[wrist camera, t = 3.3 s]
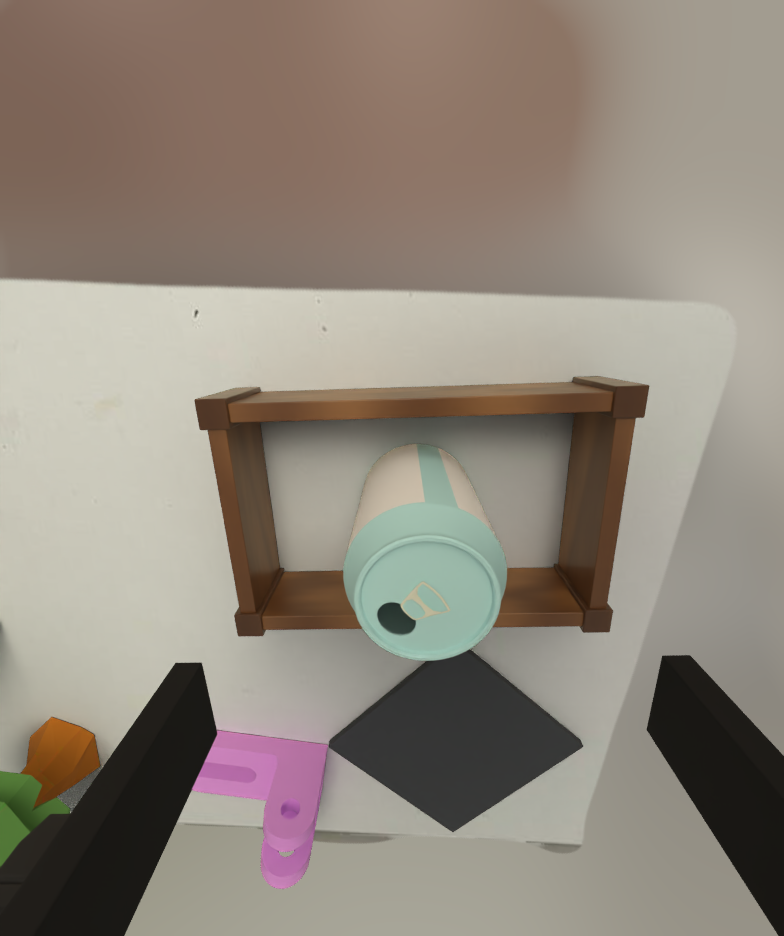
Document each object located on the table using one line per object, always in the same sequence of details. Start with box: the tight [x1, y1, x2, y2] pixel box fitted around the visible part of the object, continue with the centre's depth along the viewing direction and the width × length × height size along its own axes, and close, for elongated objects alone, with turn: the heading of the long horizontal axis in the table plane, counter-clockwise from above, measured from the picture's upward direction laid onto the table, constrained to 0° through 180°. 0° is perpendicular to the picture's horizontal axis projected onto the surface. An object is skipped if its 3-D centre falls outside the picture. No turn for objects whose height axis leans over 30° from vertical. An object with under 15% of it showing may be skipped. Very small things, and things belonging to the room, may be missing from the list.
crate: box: [195, 376, 649, 636], centre depth 24 cm, size 23×15×5 cm, turn 92°
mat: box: [329, 649, 583, 832], centre depth 33 cm, size 15×15×1 cm
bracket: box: [192, 731, 328, 889], centre depth 32 cm, size 13×6×7 cm, turn 82°
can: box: [343, 444, 507, 661], centre depth 21 cm, size 7×7×12 cm
